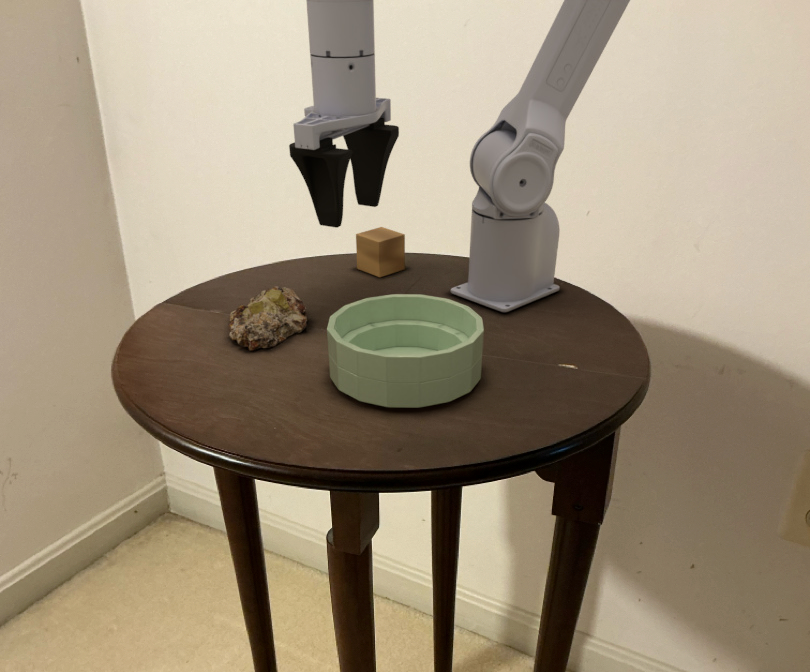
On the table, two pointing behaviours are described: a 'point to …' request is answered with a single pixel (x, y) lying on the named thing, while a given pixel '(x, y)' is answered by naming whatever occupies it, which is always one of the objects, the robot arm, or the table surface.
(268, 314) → the mineral rock
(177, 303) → the table surface
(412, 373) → the bowl
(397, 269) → the block
